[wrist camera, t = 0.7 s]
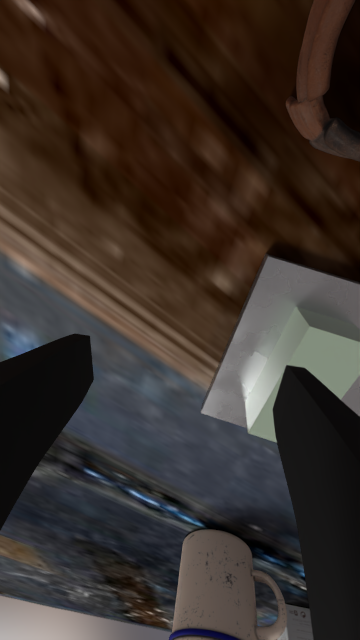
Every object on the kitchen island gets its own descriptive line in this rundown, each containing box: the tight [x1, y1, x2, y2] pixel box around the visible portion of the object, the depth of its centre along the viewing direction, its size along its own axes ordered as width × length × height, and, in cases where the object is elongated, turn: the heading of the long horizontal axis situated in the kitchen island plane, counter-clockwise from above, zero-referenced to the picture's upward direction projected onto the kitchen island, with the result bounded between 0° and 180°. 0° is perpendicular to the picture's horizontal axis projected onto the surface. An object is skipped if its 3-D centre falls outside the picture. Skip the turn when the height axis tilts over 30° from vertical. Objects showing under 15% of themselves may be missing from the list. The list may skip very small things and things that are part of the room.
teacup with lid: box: [169, 529, 287, 640], centre depth 27 cm, size 12×9×12 cm
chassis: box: [201, 254, 360, 428], centre depth 18 cm, size 19×14×4 cm
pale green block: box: [245, 307, 360, 442], centre depth 17 cm, size 4×9×3 cm, turn 165°
